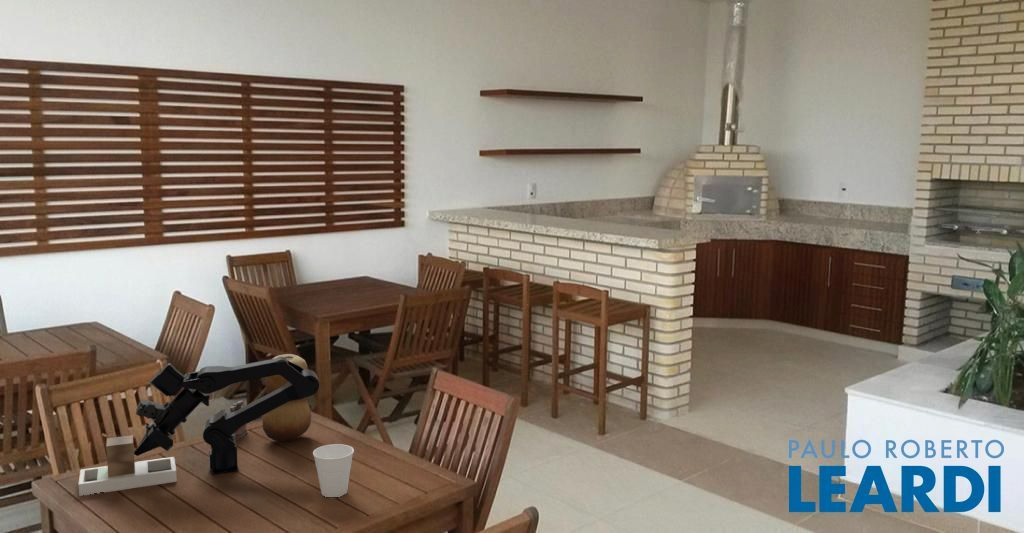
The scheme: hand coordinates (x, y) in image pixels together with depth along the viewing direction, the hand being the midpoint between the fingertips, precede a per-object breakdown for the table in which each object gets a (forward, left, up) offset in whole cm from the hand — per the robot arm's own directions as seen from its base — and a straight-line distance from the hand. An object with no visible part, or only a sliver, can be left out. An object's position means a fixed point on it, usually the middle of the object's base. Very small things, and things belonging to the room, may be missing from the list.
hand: (135, 454), depth 209 cm
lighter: (-27, -23, -7) cm, 36 cm away
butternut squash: (-40, -14, -7) cm, 43 cm away
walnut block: (+3, 0, -4) cm, 5 cm away
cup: (-44, +28, -7) cm, 53 cm away
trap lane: (+2, 0, -7) cm, 7 cm away
